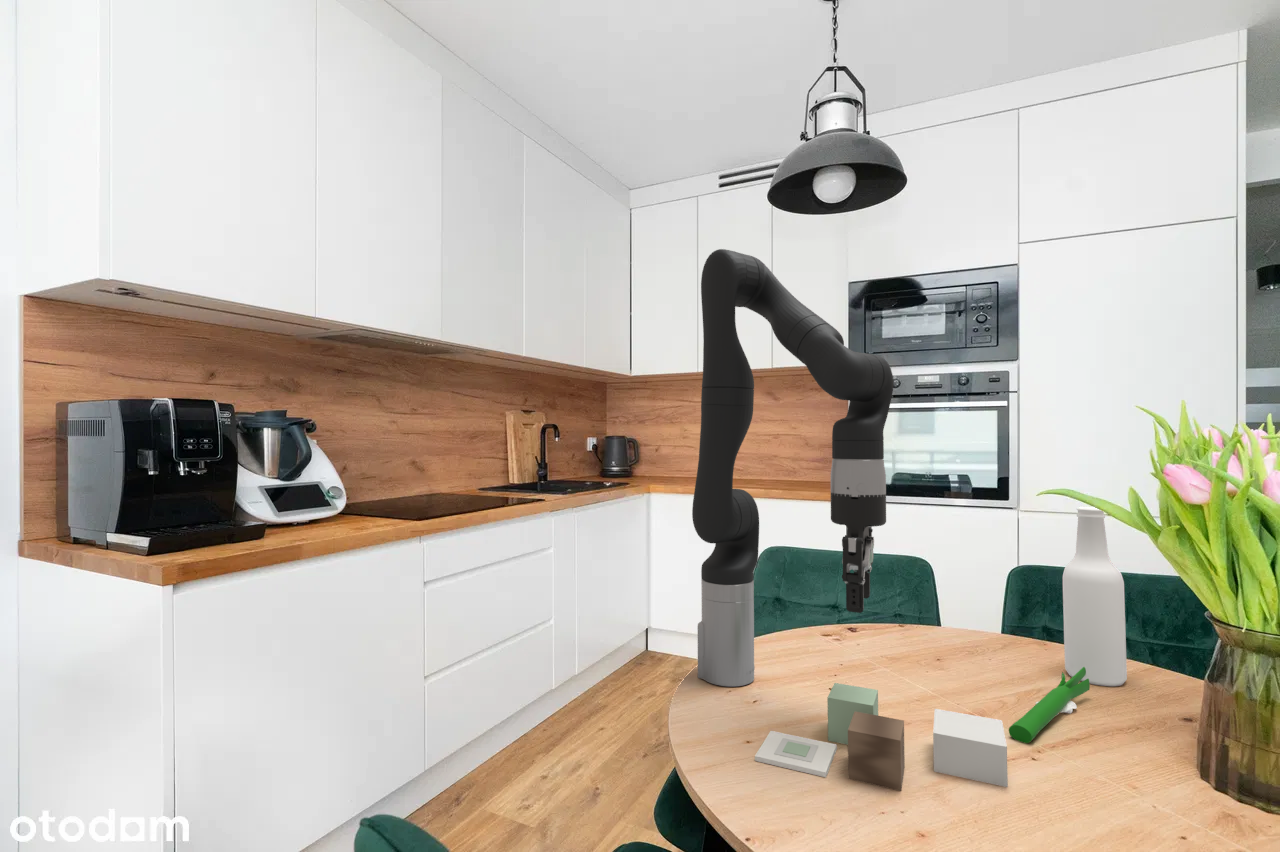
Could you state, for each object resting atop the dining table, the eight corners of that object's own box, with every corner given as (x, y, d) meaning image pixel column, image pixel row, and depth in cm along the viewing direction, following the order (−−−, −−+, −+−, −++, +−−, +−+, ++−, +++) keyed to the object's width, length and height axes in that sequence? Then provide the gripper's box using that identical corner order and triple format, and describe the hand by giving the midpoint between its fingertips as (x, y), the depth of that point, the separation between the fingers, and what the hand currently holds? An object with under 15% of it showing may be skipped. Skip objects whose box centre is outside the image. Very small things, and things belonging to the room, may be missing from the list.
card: (754, 760, 80) (754, 754, 80) (771, 734, 87) (770, 729, 87) (826, 777, 75) (825, 770, 75) (836, 749, 83) (836, 742, 83)
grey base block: (933, 773, 77) (933, 732, 77) (935, 745, 84) (934, 708, 84) (1007, 789, 73) (1006, 746, 73) (1002, 758, 80) (1001, 720, 81)
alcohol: (1108, 670, 111) (1104, 505, 113) (1139, 689, 103) (1133, 510, 104) (1055, 667, 113) (1051, 504, 114) (1081, 685, 104) (1076, 509, 105)
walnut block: (848, 779, 75) (847, 730, 75) (855, 757, 81) (854, 711, 81) (901, 792, 72) (900, 740, 73) (904, 768, 78) (903, 720, 78)
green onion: (1037, 754, 83) (1101, 686, 102) (1035, 729, 83) (1100, 667, 102) (998, 741, 87) (1067, 678, 106) (996, 718, 87) (1065, 659, 106)
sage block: (828, 741, 85) (827, 697, 85) (835, 723, 90) (834, 682, 91) (873, 750, 82) (873, 705, 83) (878, 732, 88) (877, 689, 88)
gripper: (838, 486, 96) (838, 590, 95) (822, 493, 83) (823, 613, 83) (889, 488, 93) (890, 596, 92) (881, 495, 80) (882, 620, 79)
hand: (858, 604), depth 87 cm, fingers open, 8 cm apart
